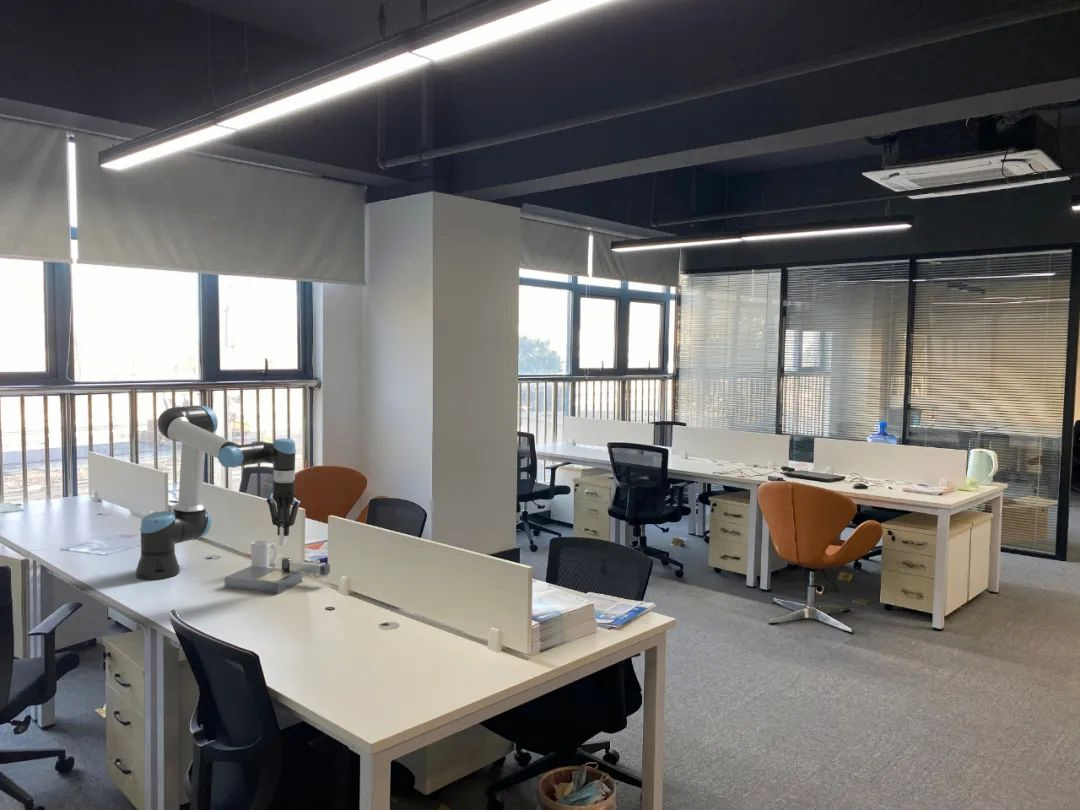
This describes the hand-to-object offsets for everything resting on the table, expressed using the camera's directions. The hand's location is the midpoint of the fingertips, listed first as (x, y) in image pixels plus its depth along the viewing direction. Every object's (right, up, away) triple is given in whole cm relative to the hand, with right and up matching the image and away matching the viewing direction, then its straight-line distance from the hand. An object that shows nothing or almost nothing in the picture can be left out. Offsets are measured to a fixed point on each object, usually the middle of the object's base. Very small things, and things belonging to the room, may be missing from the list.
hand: (283, 544), depth 285 cm
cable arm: (+6, -11, +7) cm, 15 cm away
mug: (-14, -15, +21) cm, 29 cm away
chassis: (-8, -16, +4) cm, 18 cm away
